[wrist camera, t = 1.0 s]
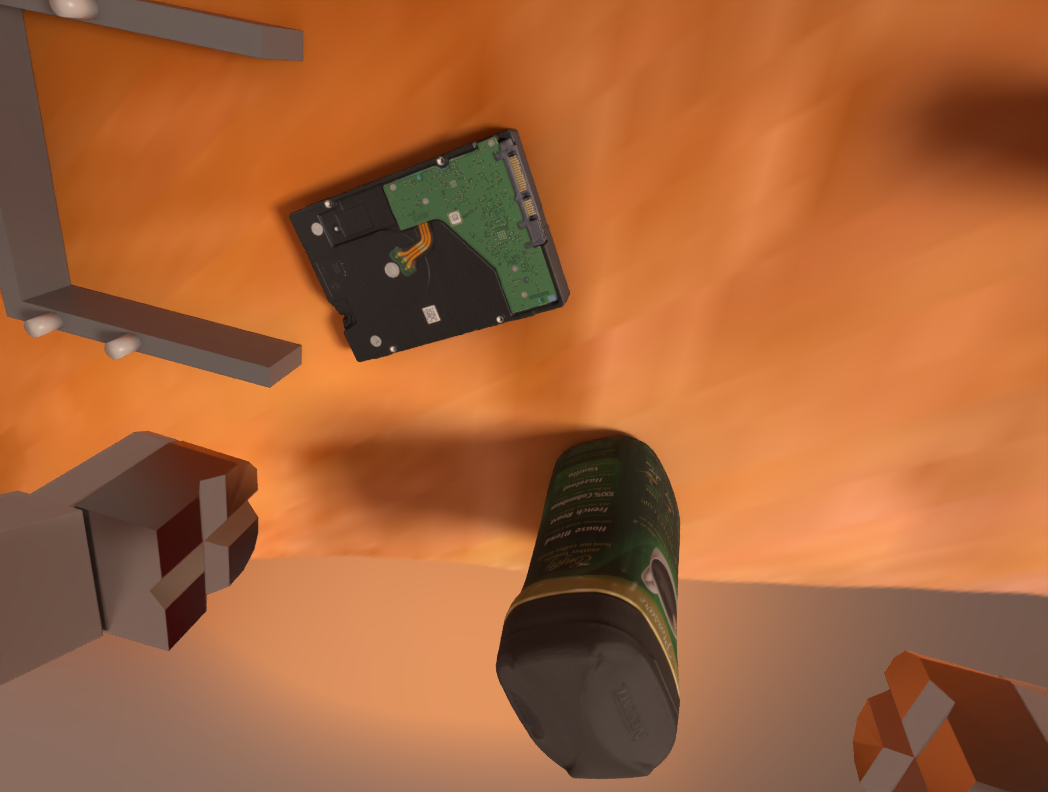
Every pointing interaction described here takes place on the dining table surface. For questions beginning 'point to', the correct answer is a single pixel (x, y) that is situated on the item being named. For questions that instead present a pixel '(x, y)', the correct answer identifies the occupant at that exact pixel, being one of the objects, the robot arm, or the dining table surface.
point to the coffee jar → (599, 615)
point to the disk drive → (435, 249)
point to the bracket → (32, 217)
